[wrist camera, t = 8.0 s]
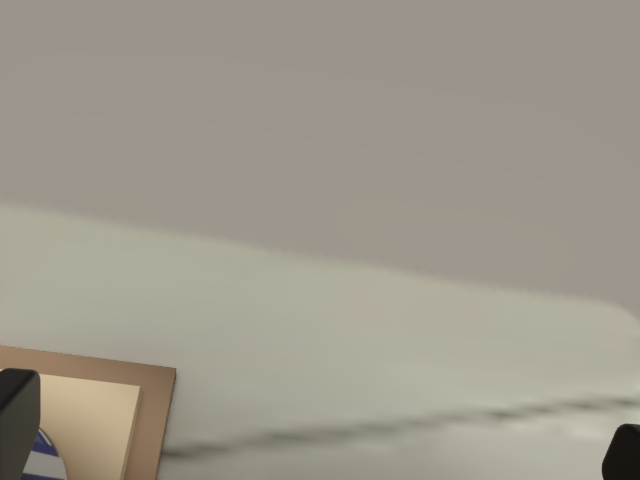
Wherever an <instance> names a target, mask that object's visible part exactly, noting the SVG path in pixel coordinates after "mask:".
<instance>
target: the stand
mask: <svg viewBox="0 0 640 480" xmlns="http://www.w3.org/2000/svg"><path fill="white" fill-rule="evenodd" d="M6 368H21V369H31V370H36V371H37V372H38V373H39V375H40V380H41V419H40V426H39V427H41V428H42V429H43V430H44V431H45V432H46V433H47V434H48V435H49V437H50V438H51V439H52V441H53V442H54V444H55V445H56V447H57V449H58V451H59V453H60V455H61V457H62V459H63V462H64V466H65V470H66V474H67V480H156V478H157V473H158V467H159V462H160V457H161V452H162V447H163V441H164V436H165V431H166V426H167V421H168V415H169V410H170V405H171V400H172V395H173V389H174V384H175V379H176V368H170V367H162V366H155V365H147V364H139V363H131V362H123V361H116V360H108V359H100V358H92V357H84V356H77V355H69V354H61V353H53V352H45V351H38V350H30V349H22V348H14V347H6V346H0V371H2V370H4V369H6Z"/></svg>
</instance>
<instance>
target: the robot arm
mask: <svg viewBox="0 0 640 480" xmlns="http://www.w3.org/2000/svg"><path fill="white" fill-rule="evenodd" d="M40 419H41V380H40V375H39V373H38V372H37V371H36V370H31V369H21V368H6V369H4V370H2V371H0V480H20V478H21V476H22V473H23V470H24V468H25V465H26V463H27V460H28V457H29V455H30V452H31V450H32V447H33V445H34V442H35V439H36V437H37V434H38V430H39V426H40ZM602 476H603V479H604V480H640V425H637V424H623V425H621V426H619V427H618V428H617V430H616V432H615V434H614V437H613V439H612V441H611V444H610V446H609V448H608V450H607V453H606V455H605V457H604V460H603V463H602Z"/></svg>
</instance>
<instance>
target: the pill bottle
mask: <svg viewBox="0 0 640 480" xmlns="http://www.w3.org/2000/svg"><path fill="white" fill-rule="evenodd" d="M20 480H67V474H66V470H65V466H64V462H63V459H62V457H61V455H60V453H59V451H58V449H57V447H56V445H55V444H54V442H53V441H52V439H51V438H50V437H49V435H48V434H47V433H46V432H45V431H44V430H43V429H42V428H41V427H39V430H38V434H37V437H36V439H35V442H34V445H33V447H32V450H31V452H30V455H29V457H28V460H27V463H26V465H25V468H24V470H23V473H22V476H21V478H20Z"/></svg>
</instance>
